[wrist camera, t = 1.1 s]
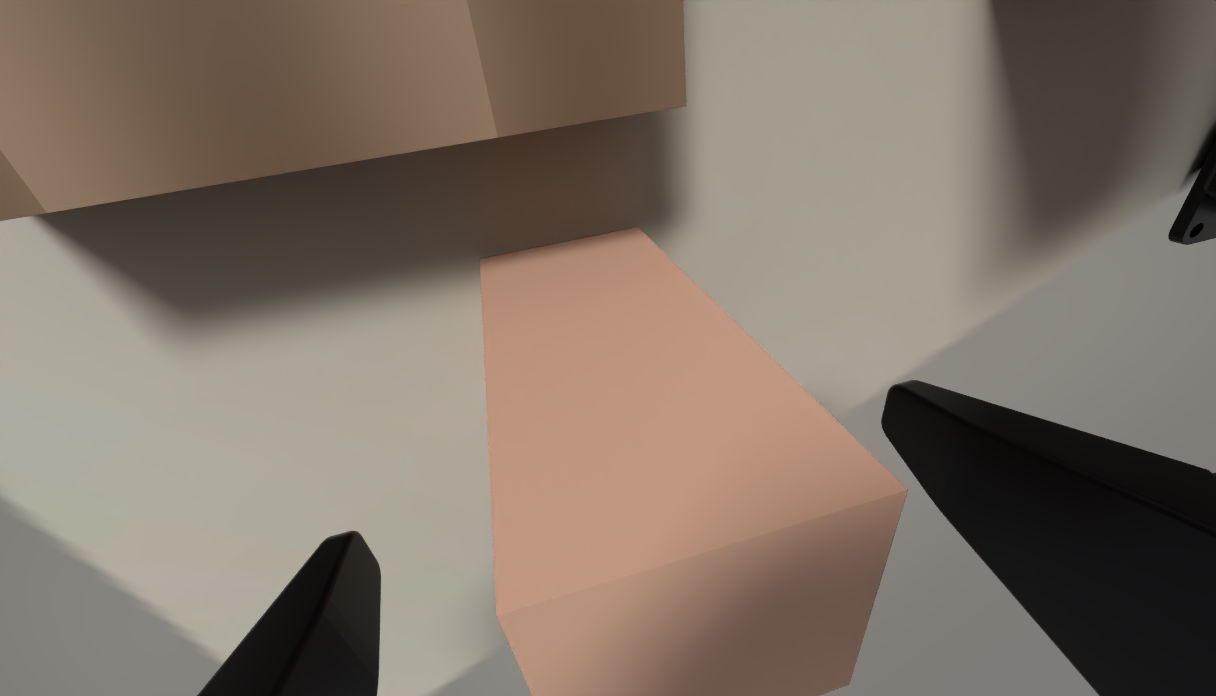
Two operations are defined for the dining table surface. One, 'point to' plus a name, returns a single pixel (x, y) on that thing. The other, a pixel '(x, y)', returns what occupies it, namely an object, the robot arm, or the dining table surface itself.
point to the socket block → (302, 85)
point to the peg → (666, 488)
